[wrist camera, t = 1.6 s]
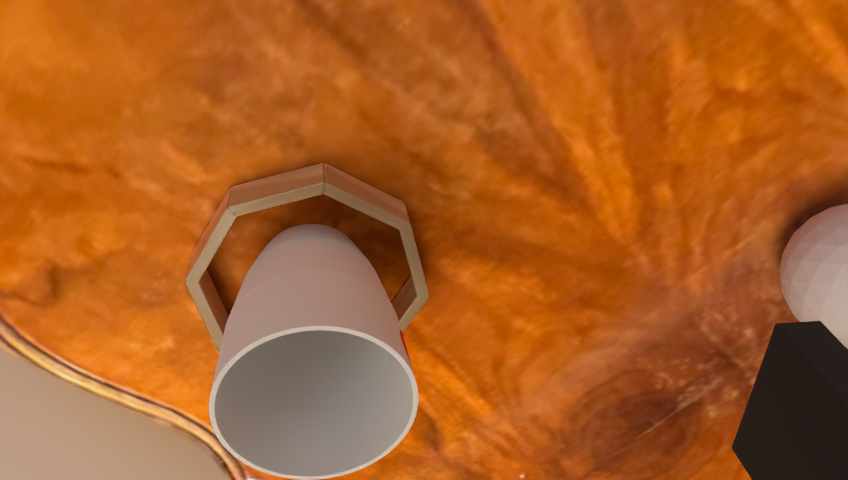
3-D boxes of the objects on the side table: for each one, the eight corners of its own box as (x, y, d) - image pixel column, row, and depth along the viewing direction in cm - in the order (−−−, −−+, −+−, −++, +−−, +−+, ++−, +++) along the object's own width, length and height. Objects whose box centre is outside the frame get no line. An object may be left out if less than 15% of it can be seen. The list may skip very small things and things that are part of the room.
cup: (345, 349, 42) (358, 498, 33) (200, 299, 39) (176, 449, 30) (420, 233, 39) (456, 367, 30) (269, 169, 35) (263, 296, 27)
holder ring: (162, 305, 39) (156, 330, 37) (261, 131, 34) (259, 150, 33) (350, 375, 43) (352, 400, 41) (457, 228, 39) (465, 249, 37)
